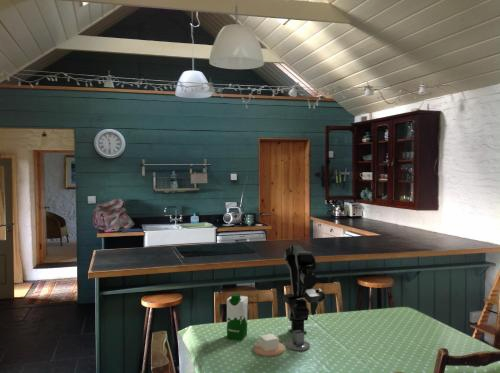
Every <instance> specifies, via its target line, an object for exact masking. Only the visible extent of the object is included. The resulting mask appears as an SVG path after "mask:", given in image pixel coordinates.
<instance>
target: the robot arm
mask: <svg viewBox="0 0 500 373" xmlns="http://www.w3.org/2000/svg"><path fill="white" fill-rule="evenodd" d="M283 260H284V262H285V266H286V267H287V268H288V271H289V276H290V277H289V278H290V284H291V285H290V287H291V293H287V294H283V295H282V302H284V303H286V304H287V306H289V308H288V311H287V319H288V320H289V322H290V326H291V328H290V329H288V332H289V333H291V334H292V335H293V331H295V330H301V331H303V332H304V335H306V334H307V331H306V330H305V321H308V320H309V314H310V310H311V315H312V316H315V313H316V312H317V311H316V310H317V307H318V306H319V304H320V303H321V302H323V300H326V293H325V292H324V291H322V289H321V288H319V289H318V288H317V289H314V287H315V286H316V285H317V282H318V279H317V276H316V275H315V274H314V273H313V271H315V270H317V262H316V258H315V256H314V254H313V252H311V251H306V250H305V249H304V248H303V247H302V244H300V243H293V244H292V243H291V244H290V246H289V247H288V248H287V249H285V251H284V255H283ZM307 303H309V304H310V308H311V309H310V310H309V308H308V306H307Z"/></svg>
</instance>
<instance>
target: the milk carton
mask: <svg viewBox="0 0 500 373" xmlns="http://www.w3.org/2000/svg"><path fill="white" fill-rule="evenodd" d="M248 299H249V296H245V295H241V294H240V293H232V294H231V296H229V297H228V298H227V299H226V339H227V340H233V341H237V342H242V341H243V340H244V339H246V337H247V336H248V304H249V302H248V301H249V300H248Z"/></svg>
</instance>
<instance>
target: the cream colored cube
mask: <svg viewBox="0 0 500 373" xmlns="http://www.w3.org/2000/svg"><path fill="white" fill-rule="evenodd" d="M259 342H260V346H261V347H262V348H263V349H264V350H265V351H269V350H275V349H279V343H280V338H279V337H278V336H276V335H275V333H274V334H273V333H267V334H261V335H259Z"/></svg>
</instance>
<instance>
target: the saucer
mask: <svg viewBox="0 0 500 373" xmlns="http://www.w3.org/2000/svg"><path fill="white" fill-rule="evenodd" d="M285 349H286V348H285V345H284V344H282V343H281V342H279V349H275V350H269V351H265V350H264V349H263V348H262V347H261V346H260V341H258V342H256V343H255V344H254V345H253V352H254V353H255V354H257V355H259V356H262V357H269V358H271V357H272V358H273V357H279V356H281V355H283V354H284V353H285Z"/></svg>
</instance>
